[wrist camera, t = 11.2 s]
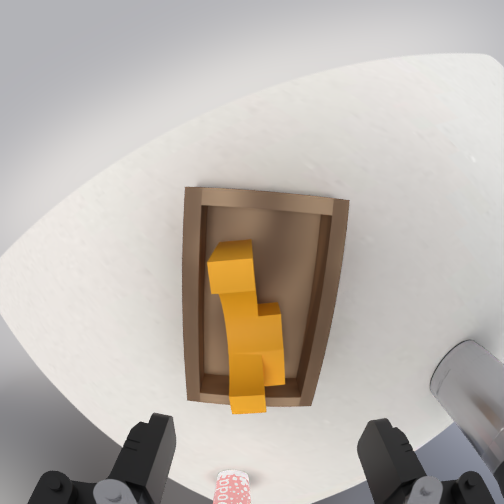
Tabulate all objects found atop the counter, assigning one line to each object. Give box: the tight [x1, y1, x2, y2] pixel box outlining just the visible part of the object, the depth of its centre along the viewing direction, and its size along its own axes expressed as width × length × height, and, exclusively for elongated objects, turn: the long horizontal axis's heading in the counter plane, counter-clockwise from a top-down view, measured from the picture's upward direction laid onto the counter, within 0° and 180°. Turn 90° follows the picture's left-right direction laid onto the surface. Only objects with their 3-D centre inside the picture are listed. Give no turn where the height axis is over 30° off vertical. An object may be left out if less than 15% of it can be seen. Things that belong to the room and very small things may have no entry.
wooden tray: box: [182, 187, 350, 407], centre depth 22 cm, size 11×18×4 cm, turn 176°
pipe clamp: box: [207, 239, 285, 414], centre depth 20 cm, size 12×4×6 cm, turn 5°
